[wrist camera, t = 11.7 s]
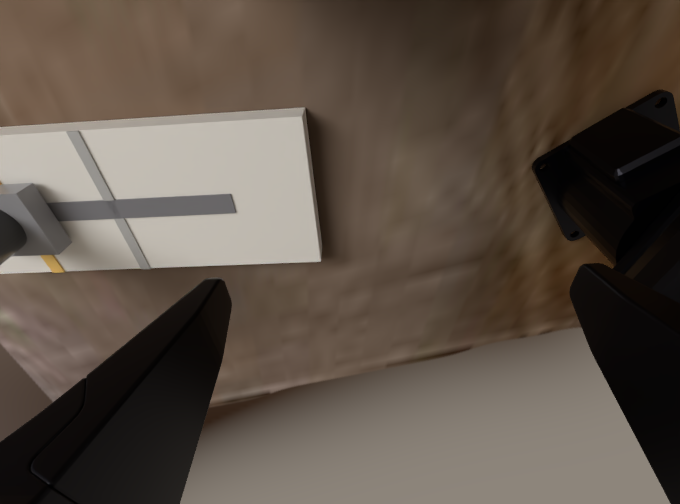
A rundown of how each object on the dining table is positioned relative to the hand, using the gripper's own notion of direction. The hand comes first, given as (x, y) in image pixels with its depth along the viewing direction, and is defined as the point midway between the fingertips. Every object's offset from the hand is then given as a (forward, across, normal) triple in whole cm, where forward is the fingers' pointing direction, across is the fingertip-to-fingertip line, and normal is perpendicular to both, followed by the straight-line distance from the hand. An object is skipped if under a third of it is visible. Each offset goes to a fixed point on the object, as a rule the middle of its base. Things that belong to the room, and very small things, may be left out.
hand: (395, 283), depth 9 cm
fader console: (+12, +14, +3) cm, 19 cm away
